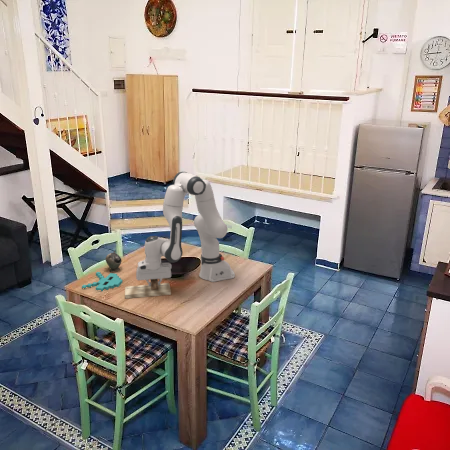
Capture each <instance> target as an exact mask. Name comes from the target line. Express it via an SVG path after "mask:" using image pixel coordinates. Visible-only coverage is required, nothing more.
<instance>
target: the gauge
mask: <svg viewBox="0 0 450 450" xmlns="http://www.w3.org/2000/svg"><path fill="white" fill-rule="evenodd" d="M158 280H159V279H149V281H150V282H151V290H155V289H158Z"/></svg>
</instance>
